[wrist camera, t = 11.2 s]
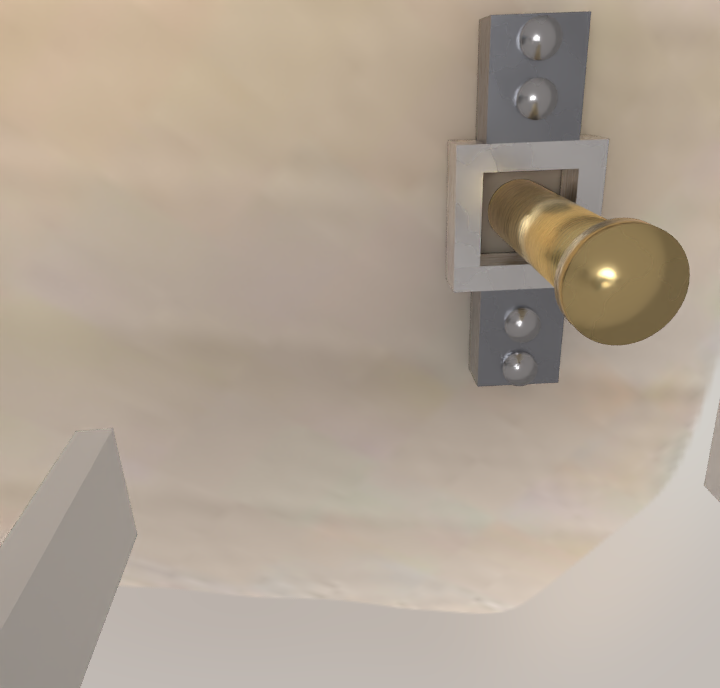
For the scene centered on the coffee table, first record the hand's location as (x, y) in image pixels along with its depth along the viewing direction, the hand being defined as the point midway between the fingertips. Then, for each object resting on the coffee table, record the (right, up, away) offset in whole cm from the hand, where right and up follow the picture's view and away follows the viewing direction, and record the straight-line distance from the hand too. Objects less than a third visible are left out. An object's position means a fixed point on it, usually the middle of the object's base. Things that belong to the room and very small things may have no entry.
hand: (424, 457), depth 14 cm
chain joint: (+7, +10, +20) cm, 23 cm away
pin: (+7, +9, +20) cm, 23 cm away
